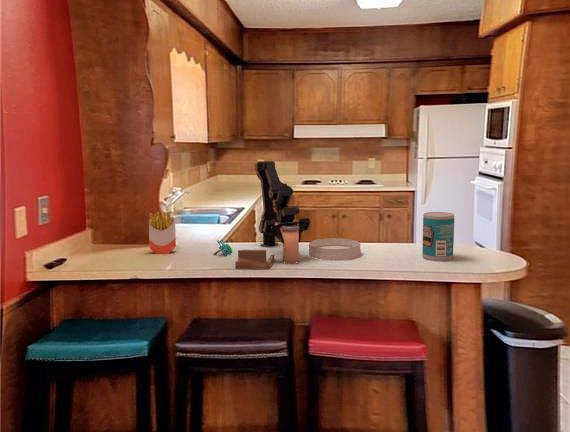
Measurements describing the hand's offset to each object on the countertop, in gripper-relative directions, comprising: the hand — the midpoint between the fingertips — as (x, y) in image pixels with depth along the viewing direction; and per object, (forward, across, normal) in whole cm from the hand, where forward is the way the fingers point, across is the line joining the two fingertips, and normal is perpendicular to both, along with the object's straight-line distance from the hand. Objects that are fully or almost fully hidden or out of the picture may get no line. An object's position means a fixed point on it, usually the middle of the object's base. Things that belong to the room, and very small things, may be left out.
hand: (291, 242), depth 207 cm
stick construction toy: (-12, -23, +24) cm, 35 cm away
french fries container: (-20, -48, +32) cm, 61 cm away
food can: (+16, +58, -4) cm, 60 cm away
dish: (+1, +21, +11) cm, 24 cm away
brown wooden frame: (+4, -14, +7) cm, 17 cm away
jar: (+5, 0, +7) cm, 8 cm away
